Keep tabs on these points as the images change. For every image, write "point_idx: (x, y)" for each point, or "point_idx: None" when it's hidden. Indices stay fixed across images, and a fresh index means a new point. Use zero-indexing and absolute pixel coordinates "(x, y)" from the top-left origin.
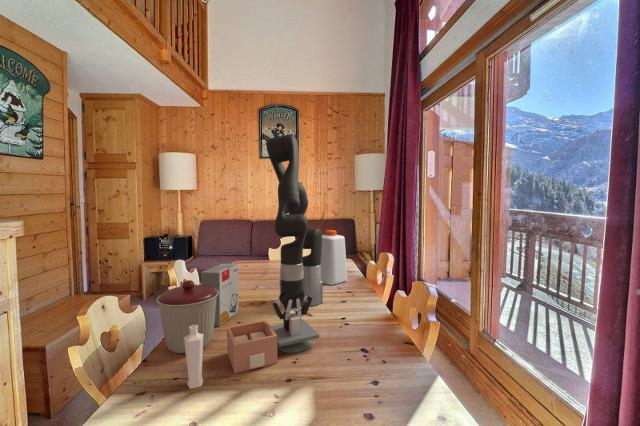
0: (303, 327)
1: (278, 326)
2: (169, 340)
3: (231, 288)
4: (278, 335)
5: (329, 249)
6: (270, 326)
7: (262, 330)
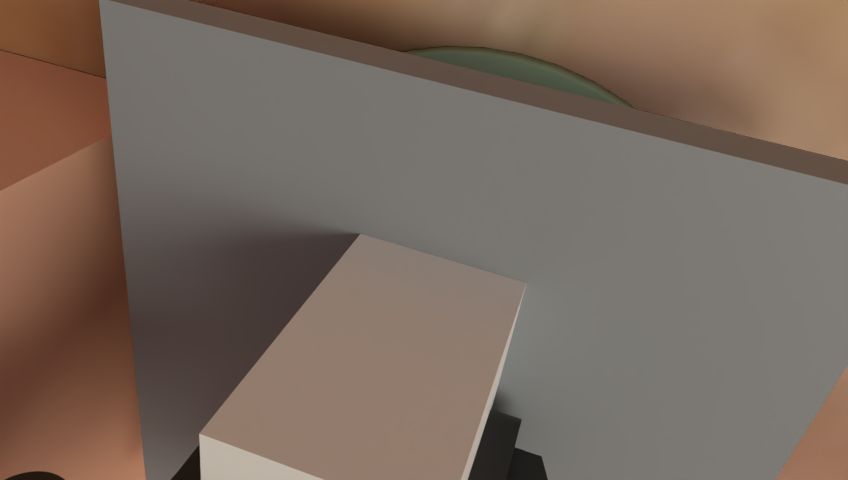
0: (621, 457)
1: (275, 145)
2: None
3: None
4: (186, 375)
5: None
6: (148, 47)
7: None
